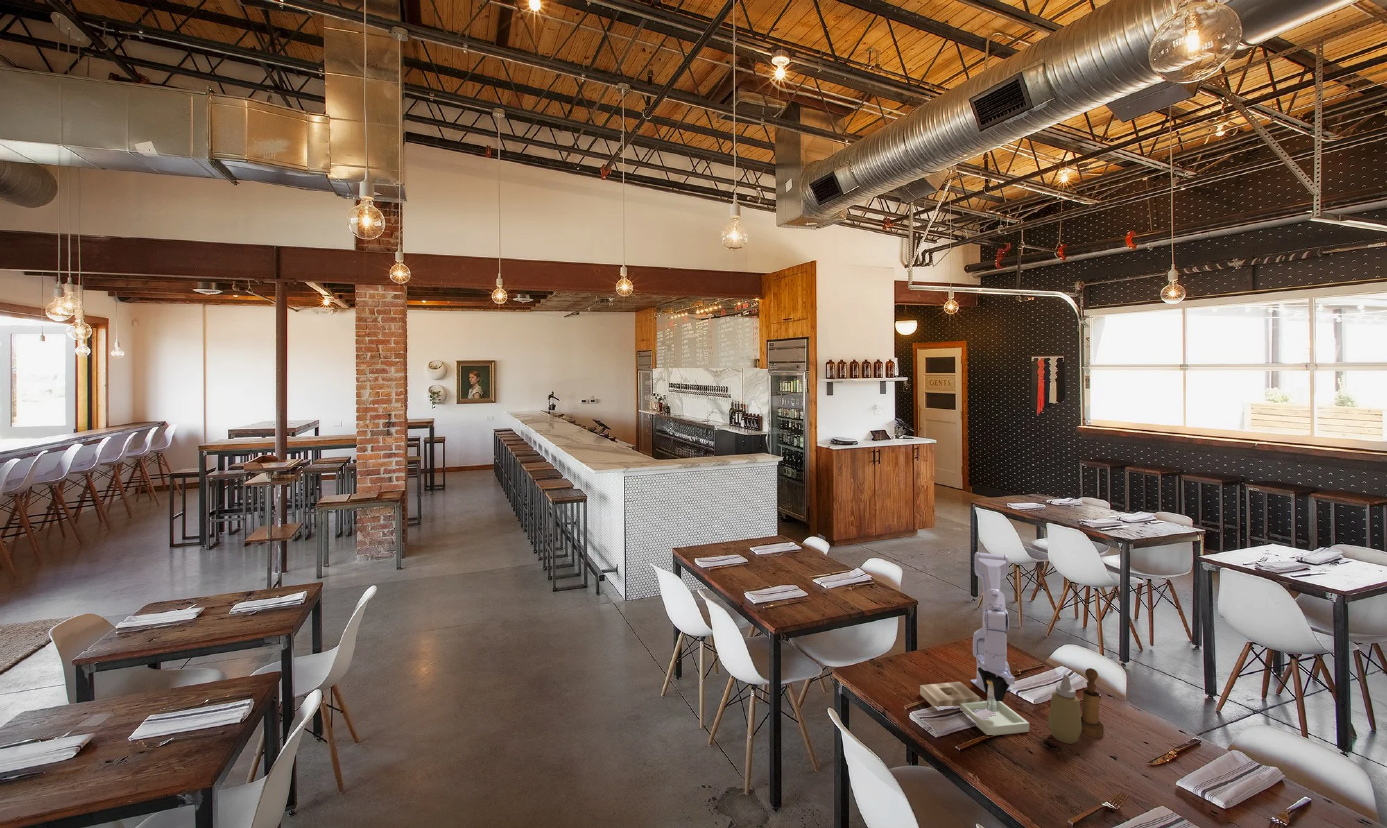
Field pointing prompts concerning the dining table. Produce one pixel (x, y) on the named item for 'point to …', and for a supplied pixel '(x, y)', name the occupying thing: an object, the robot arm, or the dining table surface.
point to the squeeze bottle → (1065, 713)
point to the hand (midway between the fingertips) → (994, 696)
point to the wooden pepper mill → (1091, 707)
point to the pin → (991, 697)
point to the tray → (996, 719)
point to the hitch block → (948, 694)
